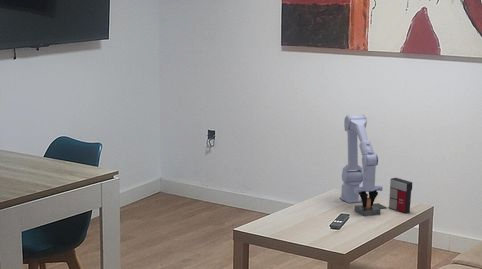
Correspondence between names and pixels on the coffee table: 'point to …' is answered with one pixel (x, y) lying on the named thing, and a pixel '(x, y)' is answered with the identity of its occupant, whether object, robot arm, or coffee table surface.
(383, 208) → the mat
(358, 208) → the chuck plate
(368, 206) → the cylinder
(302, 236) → the coffee table surface
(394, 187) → the red and grey box
